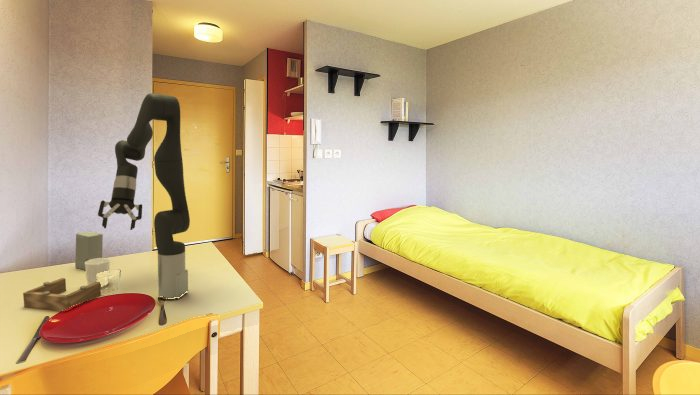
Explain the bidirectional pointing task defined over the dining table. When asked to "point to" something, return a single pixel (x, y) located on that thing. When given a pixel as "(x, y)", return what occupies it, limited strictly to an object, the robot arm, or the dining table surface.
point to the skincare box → (87, 248)
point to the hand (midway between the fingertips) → (118, 228)
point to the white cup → (95, 268)
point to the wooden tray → (52, 300)
